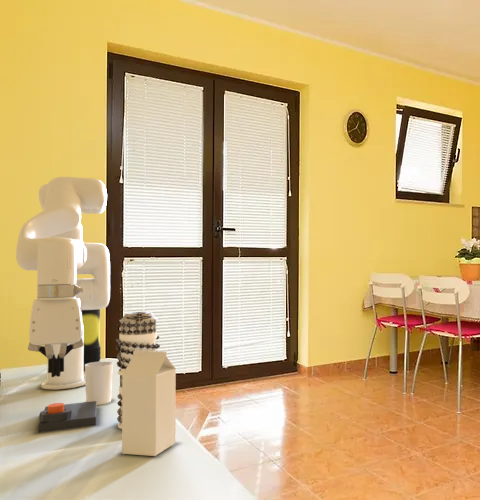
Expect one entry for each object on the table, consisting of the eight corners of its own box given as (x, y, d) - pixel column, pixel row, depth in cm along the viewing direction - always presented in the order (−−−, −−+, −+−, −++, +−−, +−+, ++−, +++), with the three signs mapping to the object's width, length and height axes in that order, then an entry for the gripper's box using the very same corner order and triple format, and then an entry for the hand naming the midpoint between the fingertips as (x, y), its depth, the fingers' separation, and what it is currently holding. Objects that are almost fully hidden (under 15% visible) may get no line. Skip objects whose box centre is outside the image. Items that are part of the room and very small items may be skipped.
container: (60, 368, 177) (60, 281, 177) (92, 364, 185) (92, 280, 186) (73, 373, 170) (73, 282, 170) (106, 367, 178) (106, 281, 179)
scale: (45, 414, 123) (45, 399, 123) (96, 408, 128) (96, 394, 128) (38, 433, 110) (38, 416, 110) (95, 425, 114) (96, 409, 115)
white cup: (92, 399, 137) (93, 361, 137) (117, 399, 137) (117, 361, 137) (79, 405, 130) (79, 366, 131) (104, 405, 130) (105, 366, 130)
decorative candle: (116, 420, 118) (116, 311, 119) (159, 415, 122) (159, 310, 122) (114, 432, 110) (114, 315, 110) (160, 427, 113) (160, 313, 114)
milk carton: (155, 457, 96) (155, 354, 96) (121, 454, 97) (122, 353, 98) (175, 443, 103) (175, 348, 103) (143, 441, 104) (144, 347, 104)
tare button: (48, 411, 115) (48, 403, 115) (64, 409, 116) (64, 402, 116) (46, 415, 112) (47, 407, 112) (63, 413, 113) (63, 405, 113)
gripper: (94, 291, 121) (94, 369, 120) (19, 293, 114) (18, 376, 114) (94, 292, 114) (93, 375, 114) (14, 294, 108) (13, 382, 107)
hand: (56, 375), depth 114 cm, fingers closed
